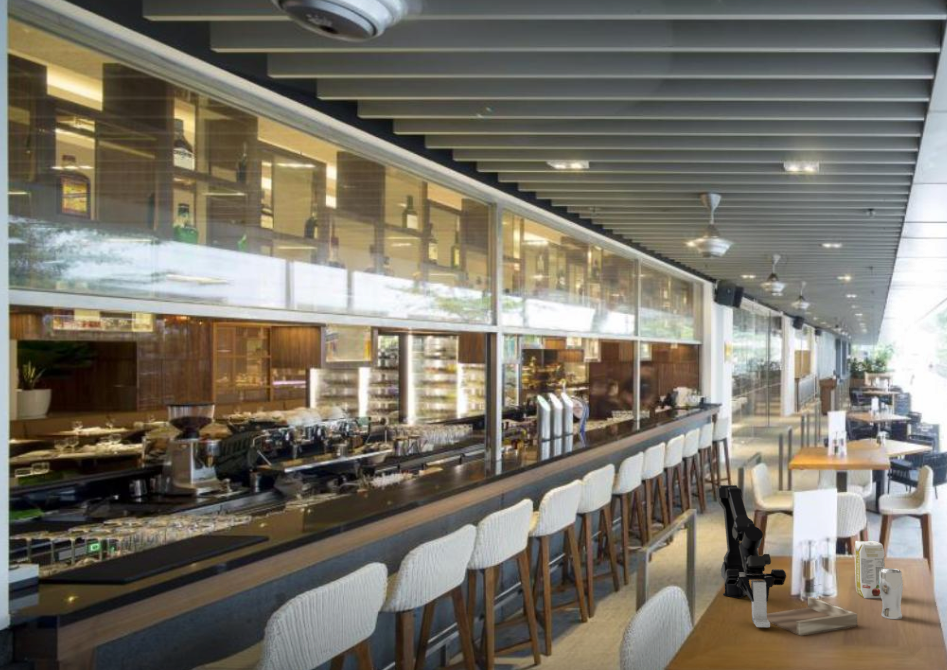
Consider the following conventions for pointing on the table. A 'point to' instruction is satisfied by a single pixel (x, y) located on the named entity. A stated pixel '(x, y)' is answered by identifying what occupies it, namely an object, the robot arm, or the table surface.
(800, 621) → the corner board
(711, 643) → the table surface
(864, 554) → the juice carton
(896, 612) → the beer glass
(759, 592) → the aluminium bracket
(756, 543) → the robot arm
